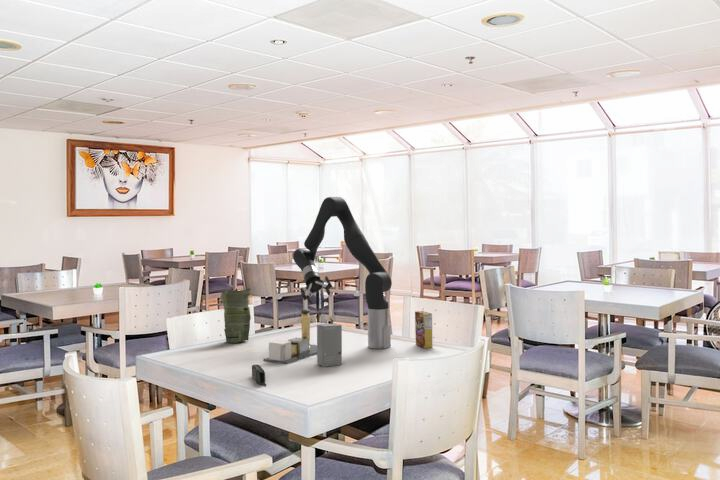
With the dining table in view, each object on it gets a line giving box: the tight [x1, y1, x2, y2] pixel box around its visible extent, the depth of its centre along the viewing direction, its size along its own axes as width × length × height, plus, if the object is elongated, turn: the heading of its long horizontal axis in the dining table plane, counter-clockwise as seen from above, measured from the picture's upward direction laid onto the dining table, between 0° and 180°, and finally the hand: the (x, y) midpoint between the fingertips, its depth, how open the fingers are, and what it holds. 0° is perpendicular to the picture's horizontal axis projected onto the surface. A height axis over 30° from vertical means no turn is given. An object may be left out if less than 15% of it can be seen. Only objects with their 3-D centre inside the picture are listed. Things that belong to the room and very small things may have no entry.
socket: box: [268, 339, 291, 361], centre depth 243 cm, size 6×7×7 cm
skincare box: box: [316, 323, 343, 368], centre depth 236 cm, size 8×7×16 cm
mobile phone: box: [251, 364, 267, 387], centre depth 212 cm, size 5×3×15 cm
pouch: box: [220, 288, 252, 344], centre depth 284 cm, size 11×12×25 cm
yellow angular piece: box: [291, 308, 311, 356], centre depth 251 cm, size 20×4×17 cm, turn 149°
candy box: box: [414, 310, 433, 349], centre depth 269 cm, size 9×4×15 cm, turn 23°
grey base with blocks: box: [262, 337, 317, 365], centre depth 254 cm, size 32×12×6 cm, turn 150°
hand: (319, 298), depth 269 cm, fingers open, 8 cm apart
